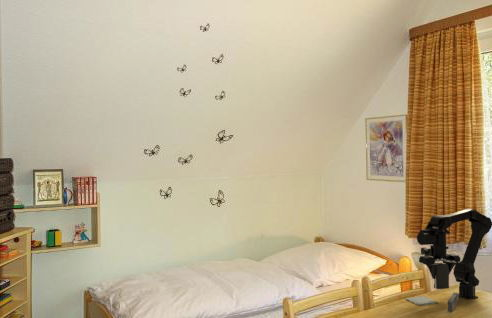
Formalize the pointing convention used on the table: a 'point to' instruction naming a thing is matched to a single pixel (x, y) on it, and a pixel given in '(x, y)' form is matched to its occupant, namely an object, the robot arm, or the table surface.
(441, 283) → the battery
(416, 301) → the mat
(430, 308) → the table surface
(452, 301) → the grey rectangular bar
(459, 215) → the robot arm
